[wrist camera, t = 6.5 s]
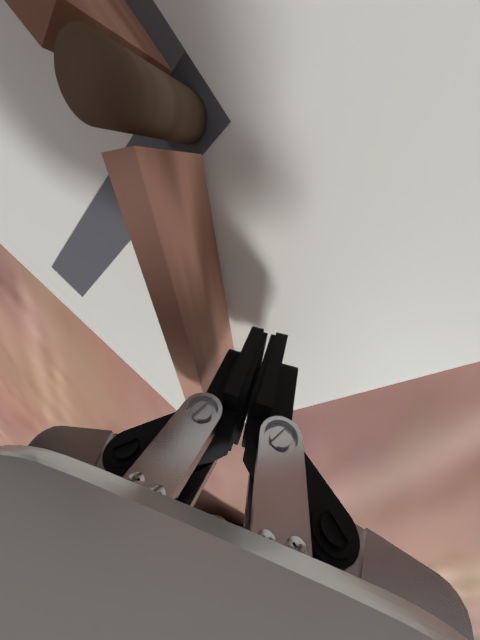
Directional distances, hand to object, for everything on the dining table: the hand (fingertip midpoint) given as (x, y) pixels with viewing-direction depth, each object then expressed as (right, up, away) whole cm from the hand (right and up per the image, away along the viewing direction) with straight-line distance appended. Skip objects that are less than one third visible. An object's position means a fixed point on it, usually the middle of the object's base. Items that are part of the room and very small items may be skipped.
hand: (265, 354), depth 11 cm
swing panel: (-2, +3, +1) cm, 4 cm away
